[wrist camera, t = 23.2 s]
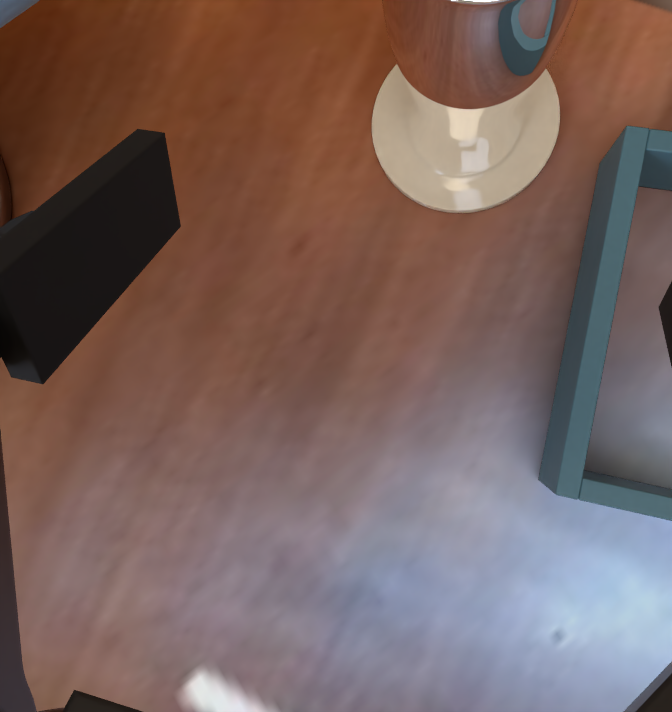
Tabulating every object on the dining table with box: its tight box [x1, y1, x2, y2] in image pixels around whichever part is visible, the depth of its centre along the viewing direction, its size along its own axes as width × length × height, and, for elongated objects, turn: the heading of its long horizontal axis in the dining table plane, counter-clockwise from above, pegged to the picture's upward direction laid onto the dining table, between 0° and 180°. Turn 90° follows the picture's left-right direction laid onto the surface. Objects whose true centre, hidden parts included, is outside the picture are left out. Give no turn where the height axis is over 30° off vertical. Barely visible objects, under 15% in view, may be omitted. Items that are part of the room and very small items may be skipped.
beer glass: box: [382, 0, 578, 176], centre depth 25 cm, size 7×7×15 cm
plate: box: [372, 64, 560, 213], centre depth 33 cm, size 10×10×1 cm
